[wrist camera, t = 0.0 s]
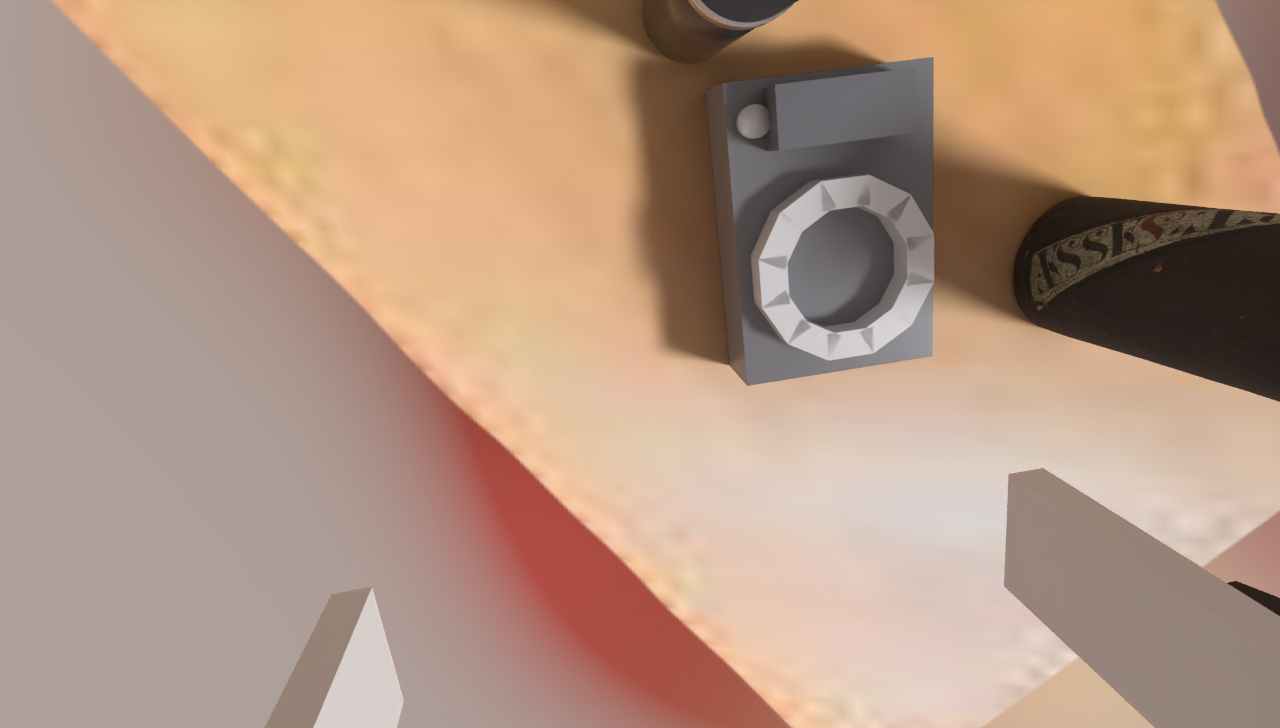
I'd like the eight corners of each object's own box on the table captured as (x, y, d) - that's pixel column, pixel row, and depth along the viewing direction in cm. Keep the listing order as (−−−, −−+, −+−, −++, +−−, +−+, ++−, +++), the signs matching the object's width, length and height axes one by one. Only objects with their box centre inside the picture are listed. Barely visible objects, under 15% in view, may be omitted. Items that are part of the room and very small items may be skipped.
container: (1125, 172, 42) (1594, 183, 23) (1142, 306, 45) (1573, 413, 26) (995, 223, 42) (1360, 274, 23) (1019, 354, 45) (1364, 496, 26)
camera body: (705, 90, 38) (732, 78, 32) (895, 67, 39) (955, 51, 33) (729, 365, 43) (757, 397, 37) (899, 338, 44) (951, 365, 38)
